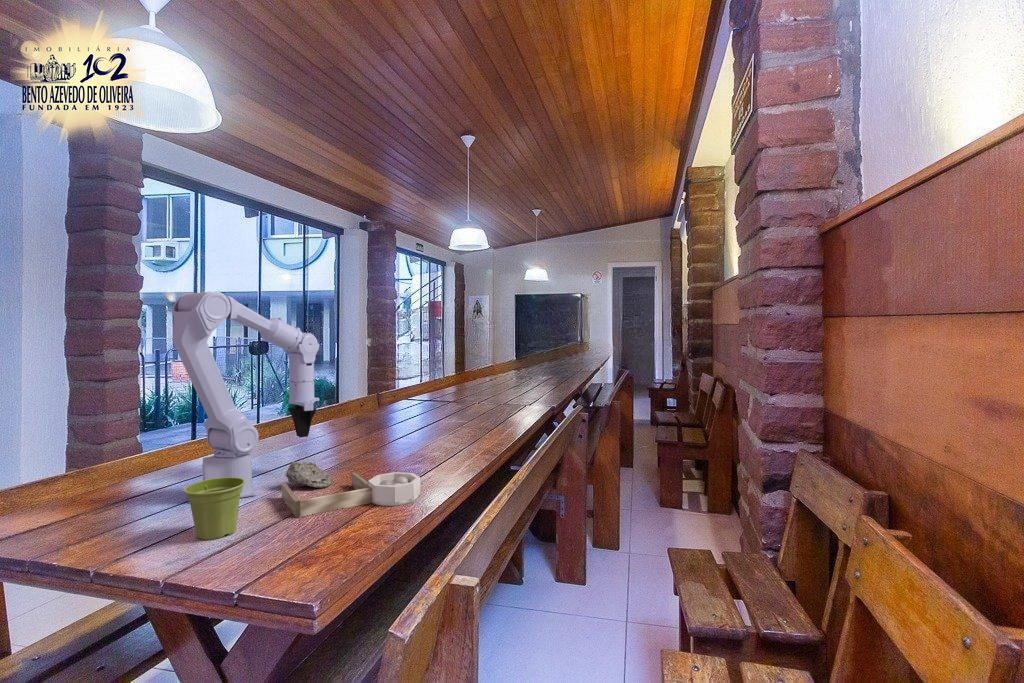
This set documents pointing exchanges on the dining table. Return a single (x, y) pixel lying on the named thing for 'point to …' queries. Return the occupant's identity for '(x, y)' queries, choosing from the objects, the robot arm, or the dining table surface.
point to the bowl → (394, 489)
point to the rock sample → (307, 475)
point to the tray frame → (329, 499)
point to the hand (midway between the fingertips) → (302, 436)
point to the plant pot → (215, 506)
